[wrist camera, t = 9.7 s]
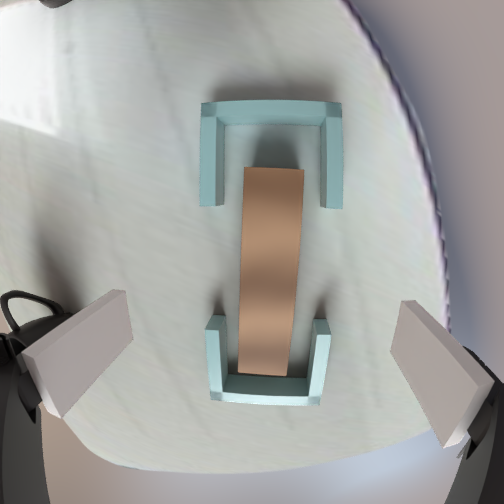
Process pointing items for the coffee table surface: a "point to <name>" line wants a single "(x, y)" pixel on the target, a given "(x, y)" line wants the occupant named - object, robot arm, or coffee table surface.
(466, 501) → the robot arm
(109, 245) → the coffee table surface
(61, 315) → the mug
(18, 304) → the coffee table surface
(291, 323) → the slat
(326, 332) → the cap
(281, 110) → the teal staple arch
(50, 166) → the coffee table surface
